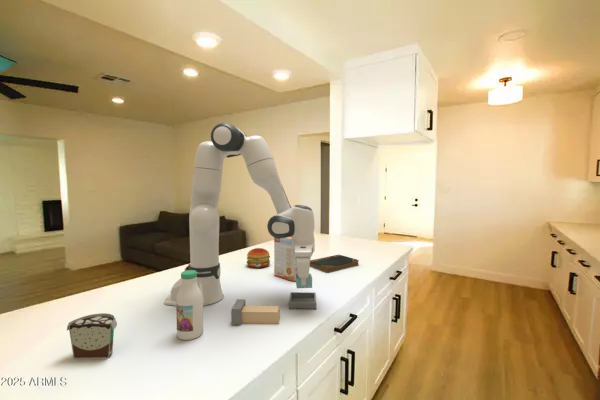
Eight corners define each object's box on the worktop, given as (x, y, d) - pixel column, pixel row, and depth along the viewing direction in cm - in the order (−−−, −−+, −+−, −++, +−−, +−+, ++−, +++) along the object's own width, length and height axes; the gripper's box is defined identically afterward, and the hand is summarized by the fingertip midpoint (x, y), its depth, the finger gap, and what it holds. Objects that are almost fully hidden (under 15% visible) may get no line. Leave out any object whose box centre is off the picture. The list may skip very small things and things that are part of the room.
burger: (244, 269, 160) (243, 251, 159) (249, 262, 173) (249, 245, 173) (268, 269, 159) (268, 251, 159) (271, 262, 173) (271, 245, 172)
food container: (127, 345, 85) (126, 312, 85) (114, 358, 79) (113, 322, 79) (84, 346, 85) (82, 312, 84) (68, 358, 79) (66, 323, 78)
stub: (296, 288, 112) (296, 277, 111) (296, 283, 117) (295, 273, 116) (312, 287, 112) (312, 277, 112) (310, 283, 117) (310, 273, 117)
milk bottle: (194, 325, 97) (193, 266, 96) (208, 333, 92) (207, 271, 91) (172, 335, 91) (170, 272, 90) (185, 343, 86) (183, 277, 85)
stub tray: (289, 309, 110) (289, 302, 110) (290, 298, 120) (290, 292, 120) (316, 309, 110) (316, 302, 109) (315, 298, 120) (315, 292, 120)
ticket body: (230, 325, 97) (229, 308, 97) (235, 314, 105) (235, 299, 105) (277, 325, 97) (277, 309, 97) (280, 314, 105) (280, 299, 105)
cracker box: (302, 279, 143) (302, 237, 142) (293, 282, 139) (293, 238, 137) (282, 273, 153) (282, 233, 151) (273, 275, 148) (273, 235, 147)
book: (326, 274, 152) (359, 266, 167) (326, 267, 152) (359, 260, 167) (306, 266, 166) (338, 259, 181) (306, 260, 166) (338, 253, 181)
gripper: (296, 241, 124) (296, 273, 125) (294, 253, 103) (294, 291, 104) (310, 241, 124) (311, 273, 125) (312, 253, 103) (312, 291, 104)
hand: (303, 281), depth 114 cm, fingers closed on stub, 5 cm apart
